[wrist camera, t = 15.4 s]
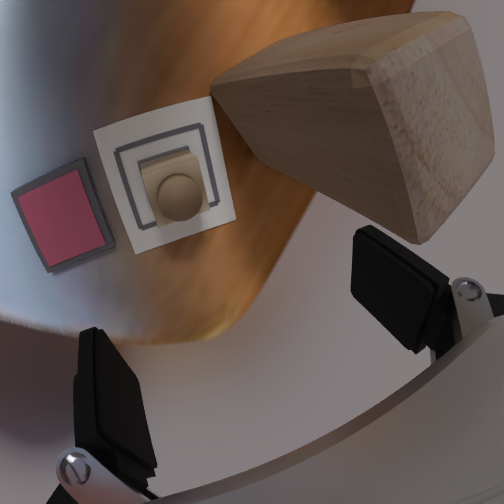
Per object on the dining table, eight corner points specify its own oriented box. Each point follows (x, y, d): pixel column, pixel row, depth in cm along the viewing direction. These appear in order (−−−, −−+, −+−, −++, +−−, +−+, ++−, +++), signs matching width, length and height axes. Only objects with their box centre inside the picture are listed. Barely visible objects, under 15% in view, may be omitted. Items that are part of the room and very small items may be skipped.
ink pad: (13, 190, 21) (9, 194, 20) (84, 157, 23) (82, 159, 22) (49, 268, 26) (47, 274, 25) (115, 242, 28) (115, 247, 26)
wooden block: (285, 36, 24) (470, 8, 8) (328, 114, 30) (500, 158, 14) (202, 86, 24) (361, 63, 7) (259, 166, 30) (421, 259, 13)
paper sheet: (93, 130, 22) (92, 131, 22) (210, 95, 25) (211, 95, 24) (135, 253, 29) (135, 255, 29) (235, 219, 32) (236, 220, 31)
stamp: (137, 161, 25) (139, 180, 19) (187, 145, 26) (205, 159, 20) (151, 208, 27) (159, 240, 21) (198, 192, 28) (219, 219, 23)
